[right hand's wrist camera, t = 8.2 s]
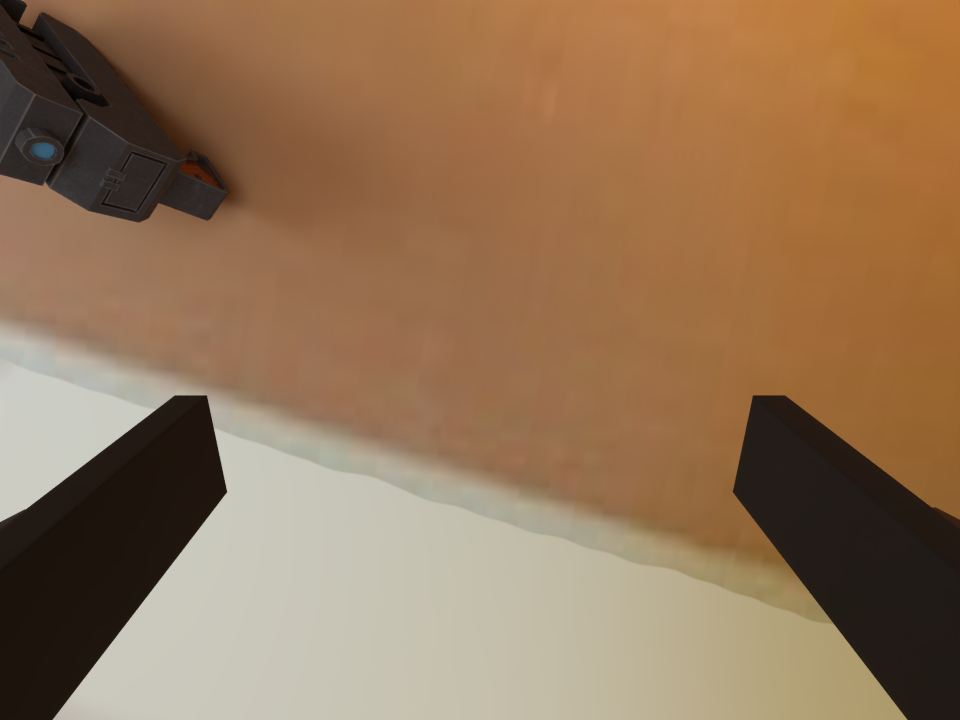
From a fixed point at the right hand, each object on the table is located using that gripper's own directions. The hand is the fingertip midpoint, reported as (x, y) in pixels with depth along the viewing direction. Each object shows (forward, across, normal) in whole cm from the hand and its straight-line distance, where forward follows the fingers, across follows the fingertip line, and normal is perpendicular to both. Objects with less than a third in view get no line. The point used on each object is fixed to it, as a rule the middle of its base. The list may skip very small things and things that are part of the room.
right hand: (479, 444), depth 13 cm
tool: (+34, -28, +10) cm, 46 cm away
